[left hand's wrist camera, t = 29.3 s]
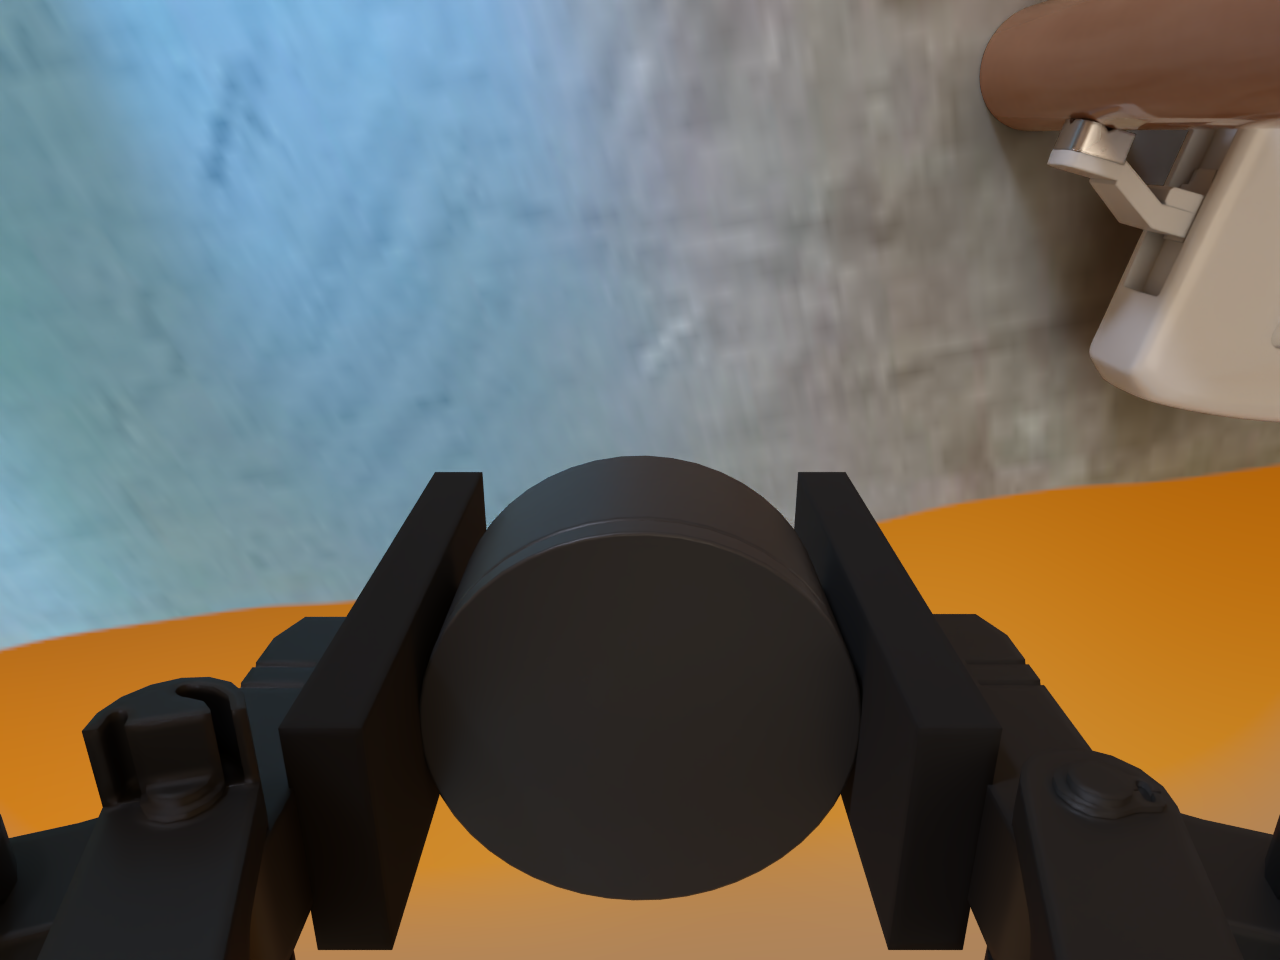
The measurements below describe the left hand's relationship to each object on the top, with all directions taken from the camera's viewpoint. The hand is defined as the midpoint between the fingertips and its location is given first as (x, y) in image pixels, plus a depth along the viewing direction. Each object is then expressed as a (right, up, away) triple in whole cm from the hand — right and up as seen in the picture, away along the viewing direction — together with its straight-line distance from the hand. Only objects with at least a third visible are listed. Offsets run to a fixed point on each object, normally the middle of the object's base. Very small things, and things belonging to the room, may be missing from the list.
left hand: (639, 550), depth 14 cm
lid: (0, -2, -4) cm, 4 cm away
